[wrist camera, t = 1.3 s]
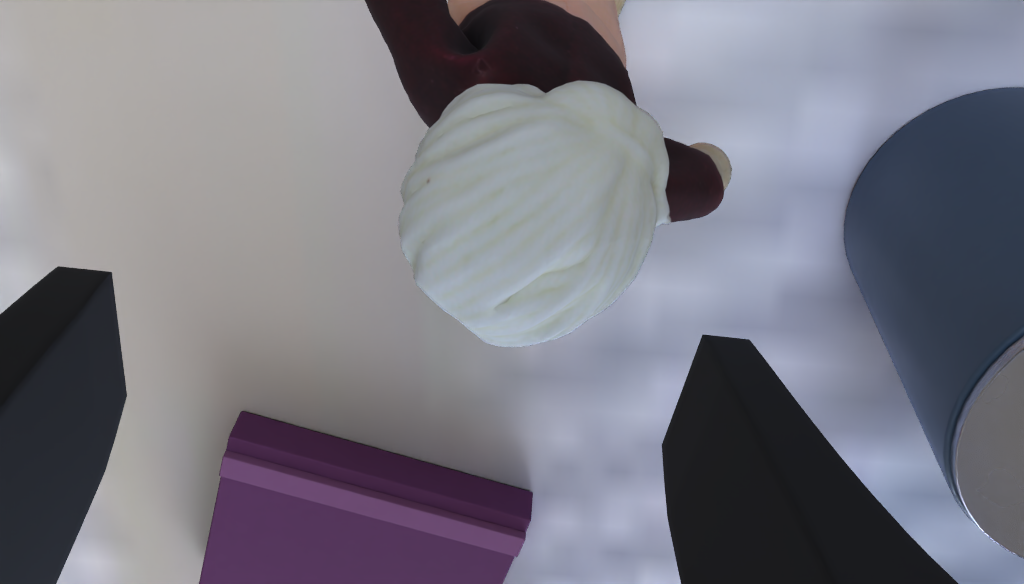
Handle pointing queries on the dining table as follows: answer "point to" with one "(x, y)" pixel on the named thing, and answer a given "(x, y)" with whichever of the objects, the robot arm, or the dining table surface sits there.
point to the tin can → (954, 291)
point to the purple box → (353, 515)
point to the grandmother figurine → (532, 162)
